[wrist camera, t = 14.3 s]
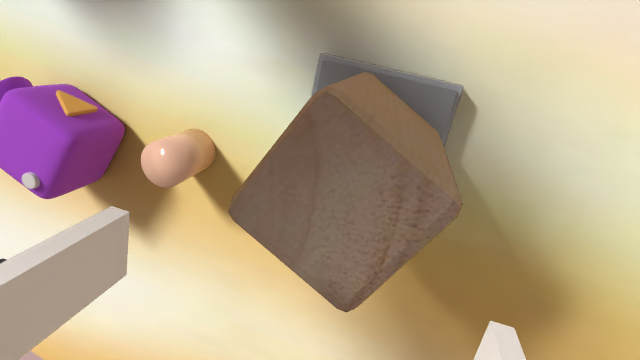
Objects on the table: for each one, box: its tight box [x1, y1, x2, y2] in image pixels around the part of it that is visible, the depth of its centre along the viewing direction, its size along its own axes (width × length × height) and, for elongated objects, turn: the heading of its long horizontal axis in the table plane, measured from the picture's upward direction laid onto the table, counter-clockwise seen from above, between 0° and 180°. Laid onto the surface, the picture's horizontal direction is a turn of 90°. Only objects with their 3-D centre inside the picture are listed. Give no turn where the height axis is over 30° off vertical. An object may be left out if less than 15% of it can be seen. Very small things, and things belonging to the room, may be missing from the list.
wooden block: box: [229, 72, 463, 312], centre depth 31 cm, size 10×10×20 cm
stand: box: [311, 54, 463, 147], centre depth 42 cm, size 14×14×3 cm
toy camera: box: [0, 77, 125, 199], centre depth 46 cm, size 11×14×10 cm
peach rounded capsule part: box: [141, 129, 216, 188], centre depth 45 cm, size 5×5×7 cm
